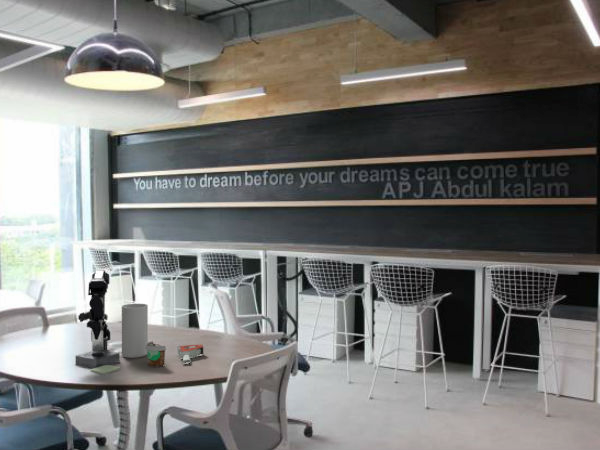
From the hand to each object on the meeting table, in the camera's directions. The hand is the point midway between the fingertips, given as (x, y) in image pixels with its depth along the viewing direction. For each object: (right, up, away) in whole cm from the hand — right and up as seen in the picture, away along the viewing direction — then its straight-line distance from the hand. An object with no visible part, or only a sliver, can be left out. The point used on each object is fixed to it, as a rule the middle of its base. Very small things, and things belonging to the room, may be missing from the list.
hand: (97, 338), depth 269 cm
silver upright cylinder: (0, -6, 0) cm, 6 cm away
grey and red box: (+41, -12, +10) cm, 44 cm away
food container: (+27, -12, -3) cm, 30 cm away
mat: (+8, -12, -12) cm, 19 cm away
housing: (0, -12, 0) cm, 12 cm away
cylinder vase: (+14, -12, +15) cm, 23 cm away
